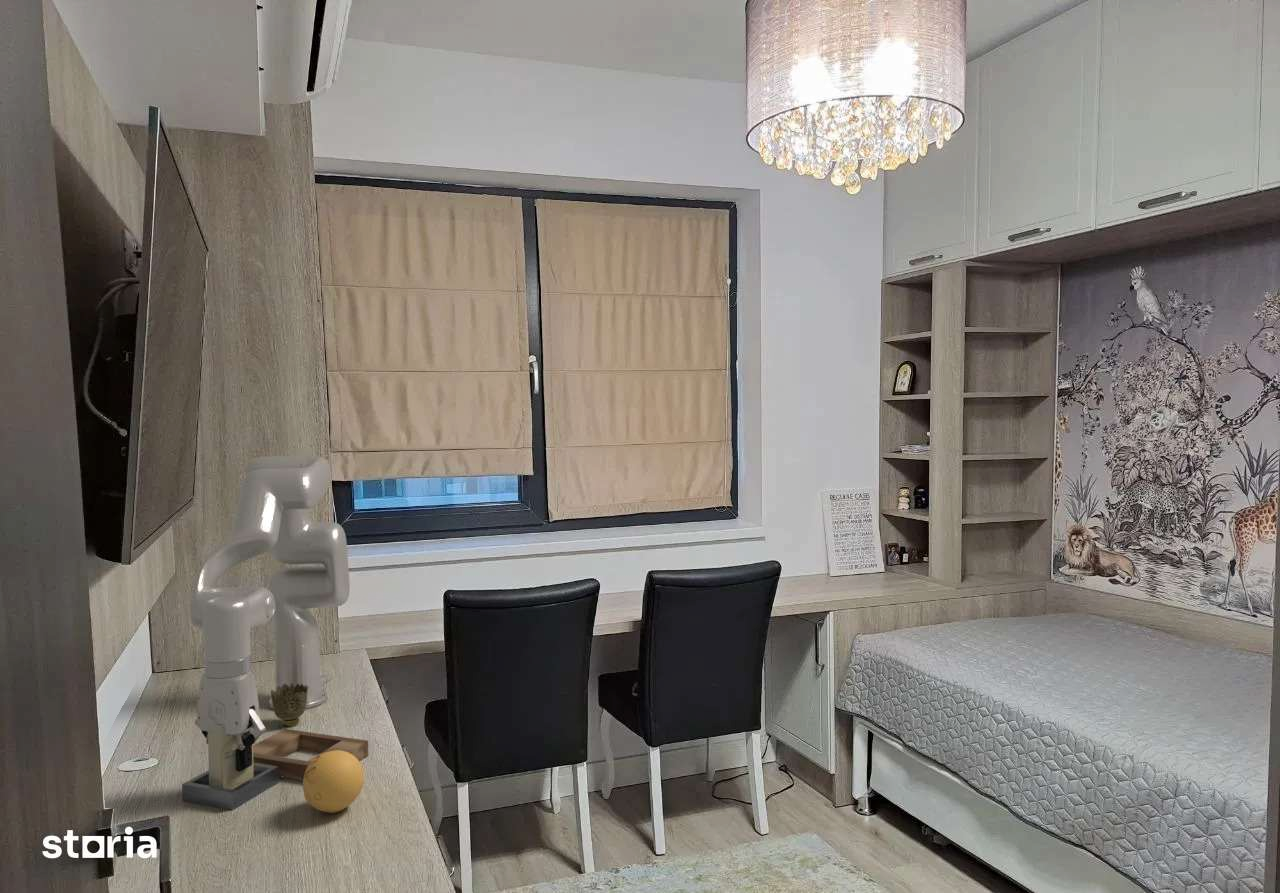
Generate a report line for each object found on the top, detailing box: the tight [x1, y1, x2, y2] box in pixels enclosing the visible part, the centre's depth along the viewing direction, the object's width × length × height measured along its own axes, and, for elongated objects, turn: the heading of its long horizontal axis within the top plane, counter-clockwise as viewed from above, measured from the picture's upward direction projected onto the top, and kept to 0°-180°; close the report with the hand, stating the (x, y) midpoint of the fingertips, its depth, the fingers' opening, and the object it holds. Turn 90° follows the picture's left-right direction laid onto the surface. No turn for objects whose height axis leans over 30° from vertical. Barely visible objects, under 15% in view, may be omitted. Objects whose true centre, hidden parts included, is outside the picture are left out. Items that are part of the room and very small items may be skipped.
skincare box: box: [207, 724, 254, 790], centre depth 151 cm, size 6×4×12 cm
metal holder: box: [181, 763, 280, 811], centre depth 151 cm, size 11×11×3 cm
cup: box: [270, 683, 308, 727], centre depth 182 cm, size 8×7×8 cm
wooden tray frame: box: [253, 728, 369, 781], centre depth 163 cm, size 13×20×3 cm, turn 72°
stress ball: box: [302, 750, 365, 814], centre depth 144 cm, size 10×10×10 cm
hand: (231, 765), depth 151 cm, fingers closed on skincare box, 5 cm apart
